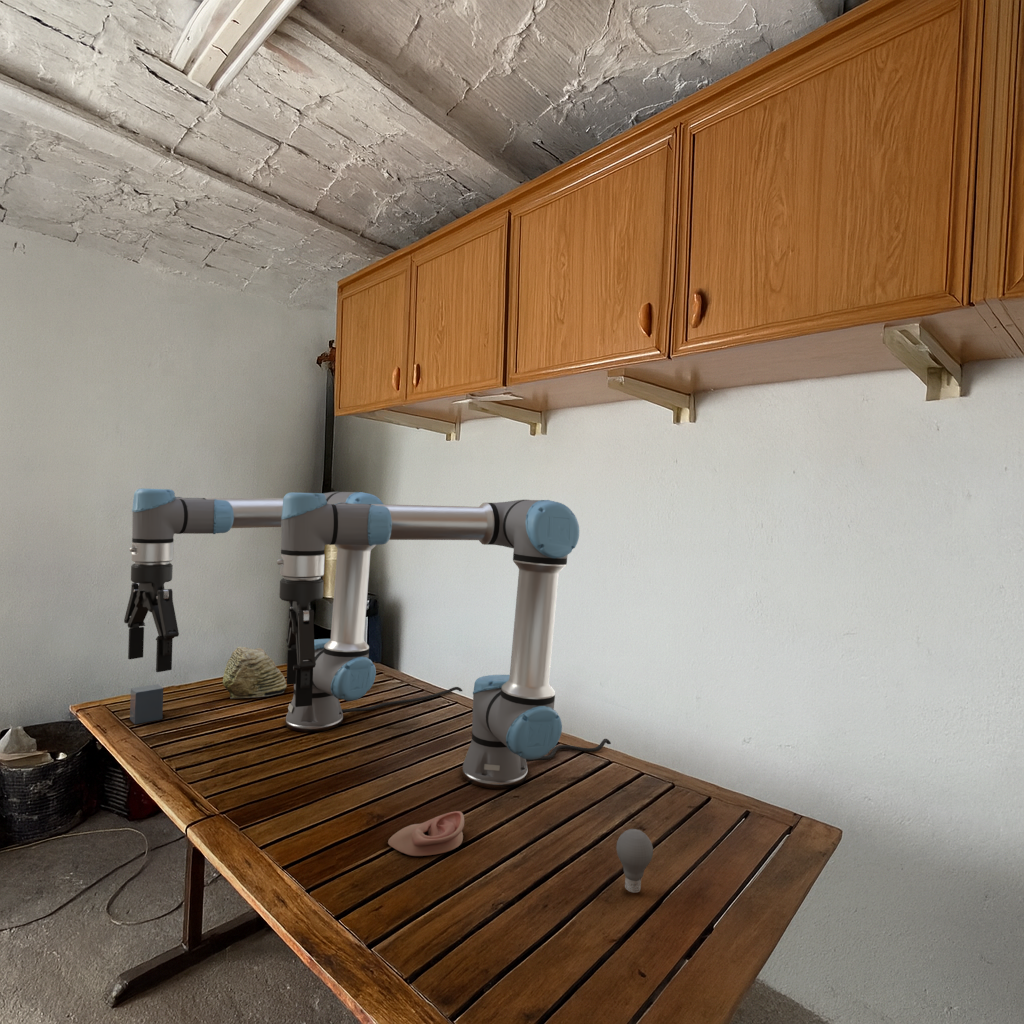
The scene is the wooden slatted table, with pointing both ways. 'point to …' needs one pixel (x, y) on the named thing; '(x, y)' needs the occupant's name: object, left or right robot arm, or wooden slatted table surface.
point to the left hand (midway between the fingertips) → (149, 664)
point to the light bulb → (634, 857)
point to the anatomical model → (430, 835)
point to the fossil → (252, 674)
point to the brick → (146, 703)
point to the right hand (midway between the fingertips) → (298, 694)
